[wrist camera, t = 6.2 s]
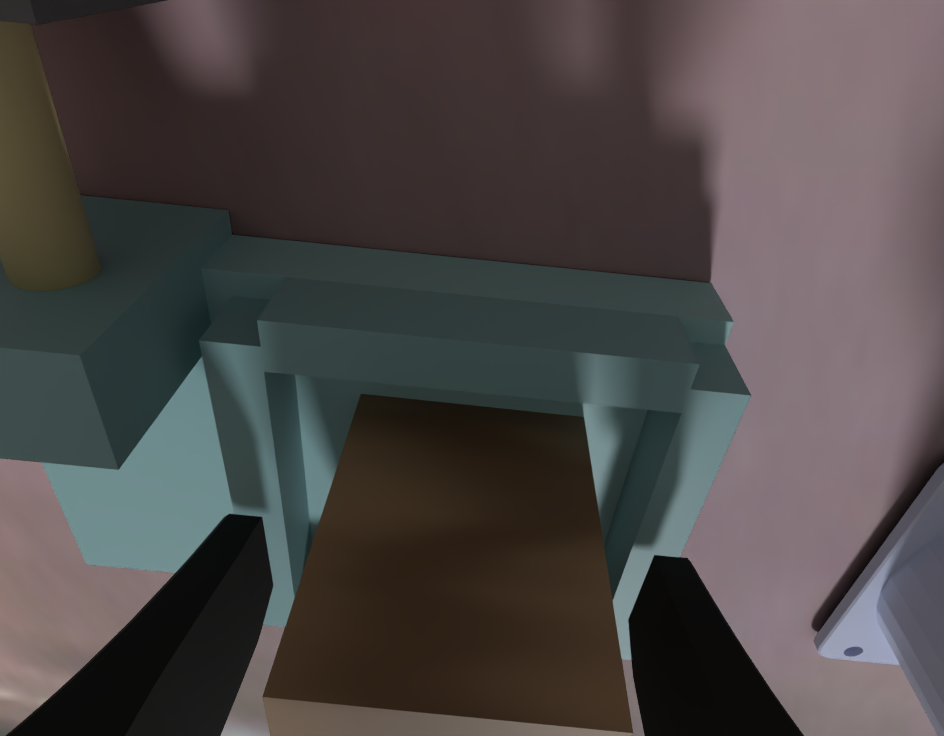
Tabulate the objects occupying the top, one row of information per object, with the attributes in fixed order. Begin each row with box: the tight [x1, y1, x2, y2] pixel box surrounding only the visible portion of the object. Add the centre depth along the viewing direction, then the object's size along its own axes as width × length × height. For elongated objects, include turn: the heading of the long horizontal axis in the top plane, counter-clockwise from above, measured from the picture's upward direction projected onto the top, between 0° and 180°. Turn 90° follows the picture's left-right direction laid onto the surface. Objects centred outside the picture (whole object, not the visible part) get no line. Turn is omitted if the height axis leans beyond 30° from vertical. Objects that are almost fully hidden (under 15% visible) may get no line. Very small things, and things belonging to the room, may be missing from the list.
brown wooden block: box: [263, 394, 633, 736], centre depth 11 cm, size 4×4×6 cm
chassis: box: [0, 21, 751, 660], centre depth 10 cm, size 14×16×5 cm
